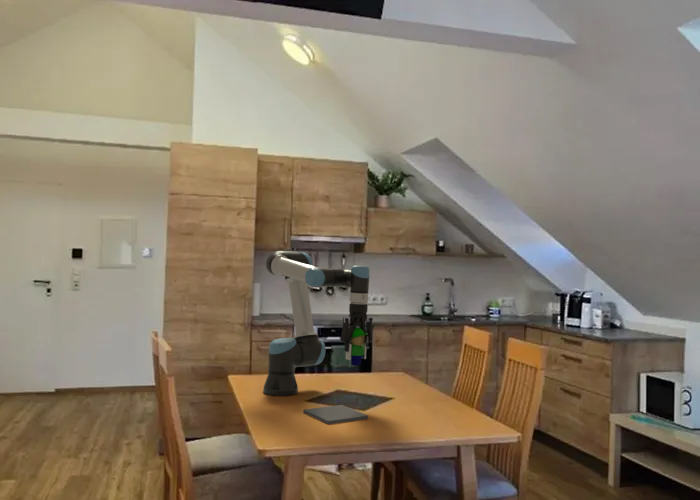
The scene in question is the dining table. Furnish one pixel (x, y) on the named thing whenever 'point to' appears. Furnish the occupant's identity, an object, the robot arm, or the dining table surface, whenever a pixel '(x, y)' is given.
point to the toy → (358, 346)
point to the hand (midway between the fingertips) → (355, 358)
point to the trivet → (335, 414)
